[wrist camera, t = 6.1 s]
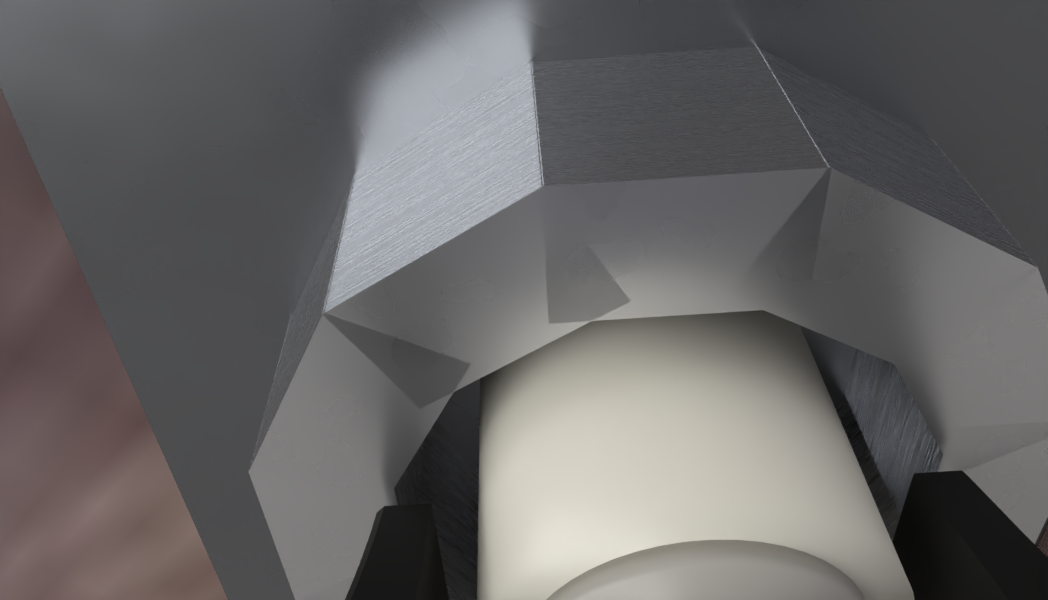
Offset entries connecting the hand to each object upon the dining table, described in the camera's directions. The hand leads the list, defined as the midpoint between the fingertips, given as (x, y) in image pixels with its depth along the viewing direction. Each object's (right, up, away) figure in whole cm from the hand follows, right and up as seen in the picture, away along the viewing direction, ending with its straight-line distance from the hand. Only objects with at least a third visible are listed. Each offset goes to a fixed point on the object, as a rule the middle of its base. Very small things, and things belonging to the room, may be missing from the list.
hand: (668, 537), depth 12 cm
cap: (0, +2, +3) cm, 3 cm away
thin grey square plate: (0, +2, +3) cm, 4 cm away
